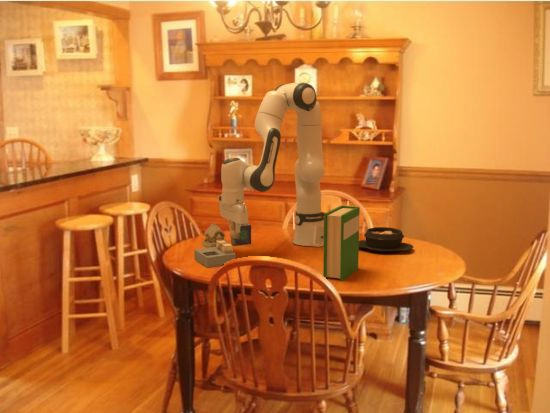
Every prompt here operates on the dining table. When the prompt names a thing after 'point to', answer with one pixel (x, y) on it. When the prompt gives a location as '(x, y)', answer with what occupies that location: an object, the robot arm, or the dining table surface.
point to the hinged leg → (224, 246)
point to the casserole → (384, 240)
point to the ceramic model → (213, 236)
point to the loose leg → (233, 231)
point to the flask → (243, 236)
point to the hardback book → (341, 242)
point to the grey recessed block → (212, 256)
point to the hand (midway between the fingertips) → (234, 231)
